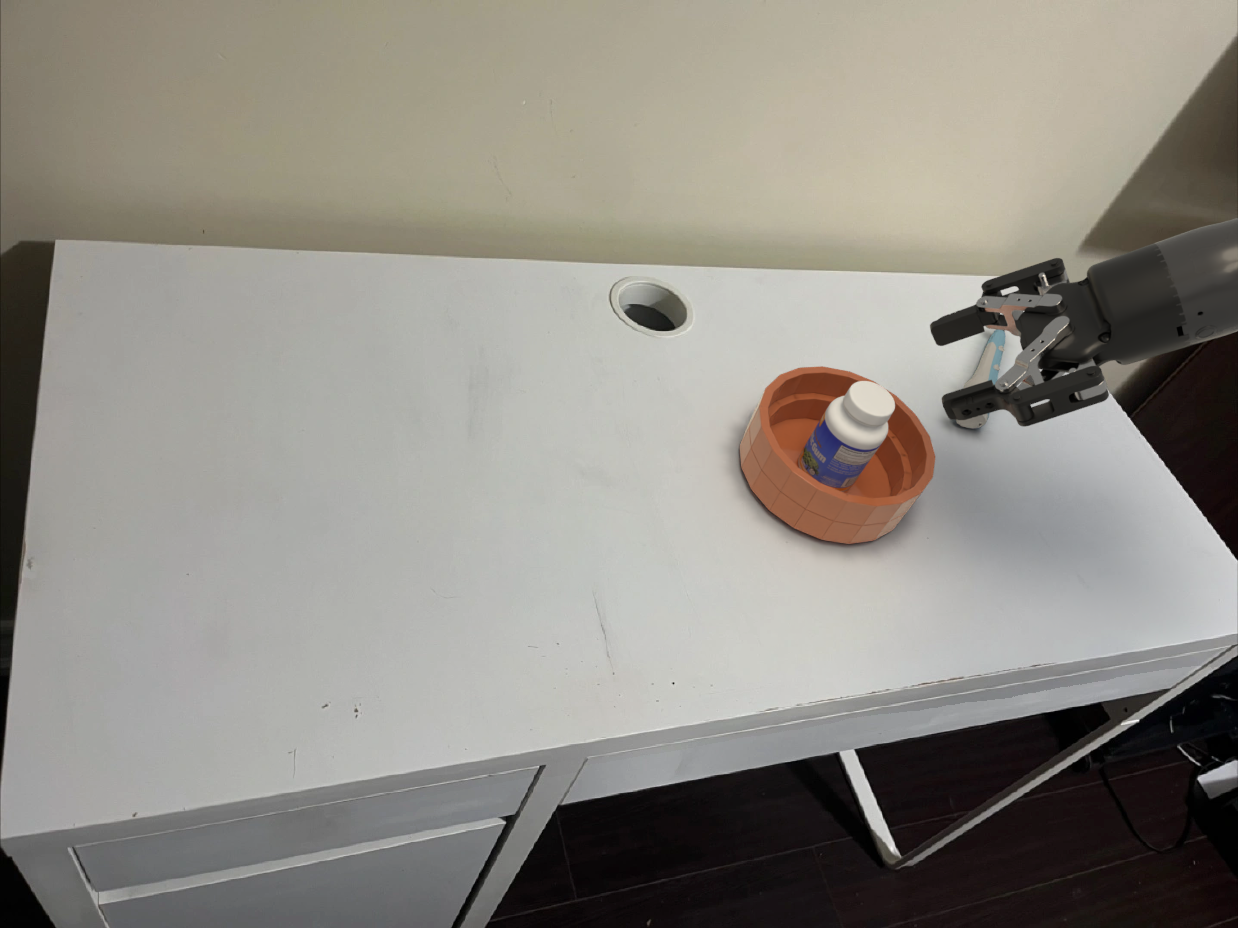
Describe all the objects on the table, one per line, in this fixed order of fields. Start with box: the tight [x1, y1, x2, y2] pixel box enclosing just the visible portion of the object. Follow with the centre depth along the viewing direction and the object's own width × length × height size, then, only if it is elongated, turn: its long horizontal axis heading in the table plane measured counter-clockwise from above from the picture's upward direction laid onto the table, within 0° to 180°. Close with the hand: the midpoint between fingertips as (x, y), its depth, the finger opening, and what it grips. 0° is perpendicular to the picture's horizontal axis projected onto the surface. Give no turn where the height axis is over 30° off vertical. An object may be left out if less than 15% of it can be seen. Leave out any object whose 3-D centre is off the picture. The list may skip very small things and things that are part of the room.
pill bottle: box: [798, 381, 895, 492], centre depth 74 cm, size 5×5×10 cm
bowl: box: [739, 365, 936, 545], centre depth 75 cm, size 16×16×6 cm
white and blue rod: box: [955, 329, 1006, 429], centre depth 91 cm, size 19×3×3 cm, turn 152°
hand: (938, 370), depth 67 cm, fingers open, 8 cm apart
